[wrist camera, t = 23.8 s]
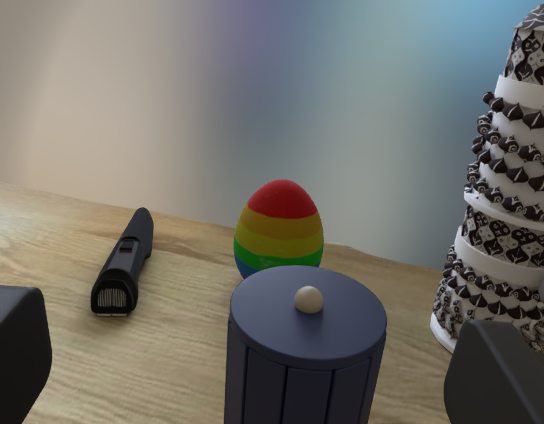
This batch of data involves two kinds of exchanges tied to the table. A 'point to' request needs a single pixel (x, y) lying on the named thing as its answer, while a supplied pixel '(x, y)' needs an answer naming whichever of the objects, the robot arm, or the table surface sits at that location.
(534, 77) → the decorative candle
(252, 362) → the slatted storage jar
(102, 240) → the table surface
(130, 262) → the electric trimmer
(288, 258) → the decorative egg
